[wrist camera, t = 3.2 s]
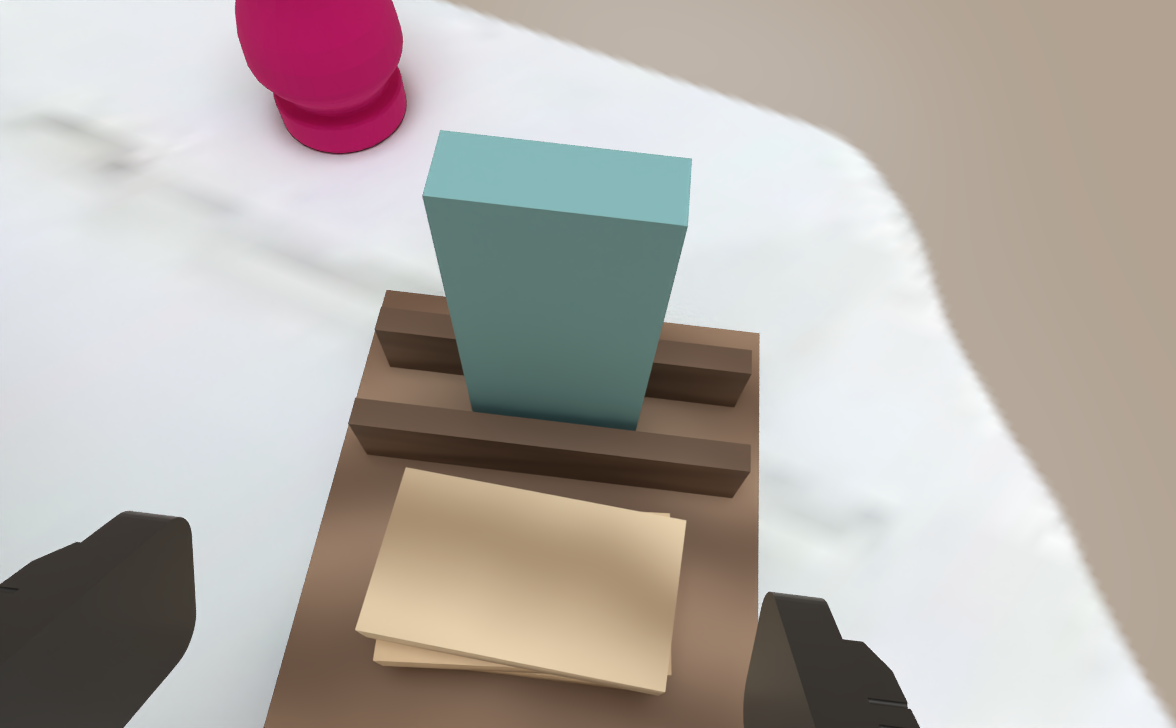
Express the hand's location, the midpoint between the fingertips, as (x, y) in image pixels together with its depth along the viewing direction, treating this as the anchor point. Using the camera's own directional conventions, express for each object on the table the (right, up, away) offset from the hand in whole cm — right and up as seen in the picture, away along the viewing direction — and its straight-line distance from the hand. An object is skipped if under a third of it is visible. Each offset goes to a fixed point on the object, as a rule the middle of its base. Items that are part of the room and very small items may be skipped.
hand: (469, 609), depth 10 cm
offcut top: (0, -4, +13) cm, 14 cm away
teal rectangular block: (0, +1, +19) cm, 19 cm away
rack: (0, -3, +19) cm, 19 cm away
